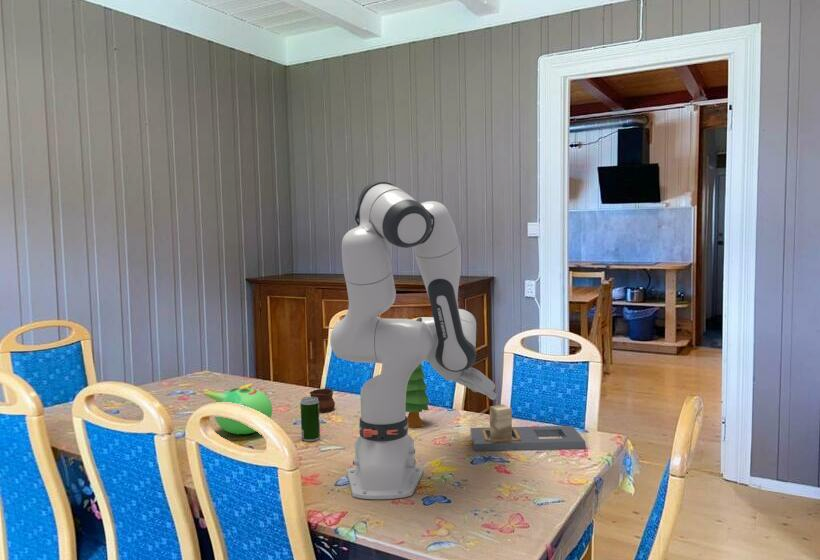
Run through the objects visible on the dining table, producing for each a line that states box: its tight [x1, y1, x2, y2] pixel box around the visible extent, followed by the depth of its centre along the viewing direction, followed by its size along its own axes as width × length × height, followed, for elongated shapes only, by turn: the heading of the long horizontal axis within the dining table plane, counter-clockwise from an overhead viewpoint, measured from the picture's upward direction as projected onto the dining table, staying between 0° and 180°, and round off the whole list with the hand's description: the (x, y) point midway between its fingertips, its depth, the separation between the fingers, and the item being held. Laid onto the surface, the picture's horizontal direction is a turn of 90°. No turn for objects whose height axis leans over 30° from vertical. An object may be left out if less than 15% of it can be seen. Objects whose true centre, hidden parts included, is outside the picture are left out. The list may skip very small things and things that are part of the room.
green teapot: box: [203, 383, 273, 435], centre depth 191 cm, size 18×17×15 cm
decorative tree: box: [406, 363, 430, 428], centre depth 195 cm, size 10×9×30 cm
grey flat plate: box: [470, 425, 586, 452], centre depth 178 cm, size 14×30×2 cm, turn 90°
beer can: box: [299, 396, 321, 443], centre depth 184 cm, size 5×5×12 cm
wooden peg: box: [489, 404, 513, 439], centre depth 178 cm, size 4×4×10 cm
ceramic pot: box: [309, 388, 336, 414], centre depth 215 cm, size 18×18×7 cm
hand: (485, 393), depth 175 cm, fingers open, 8 cm apart
